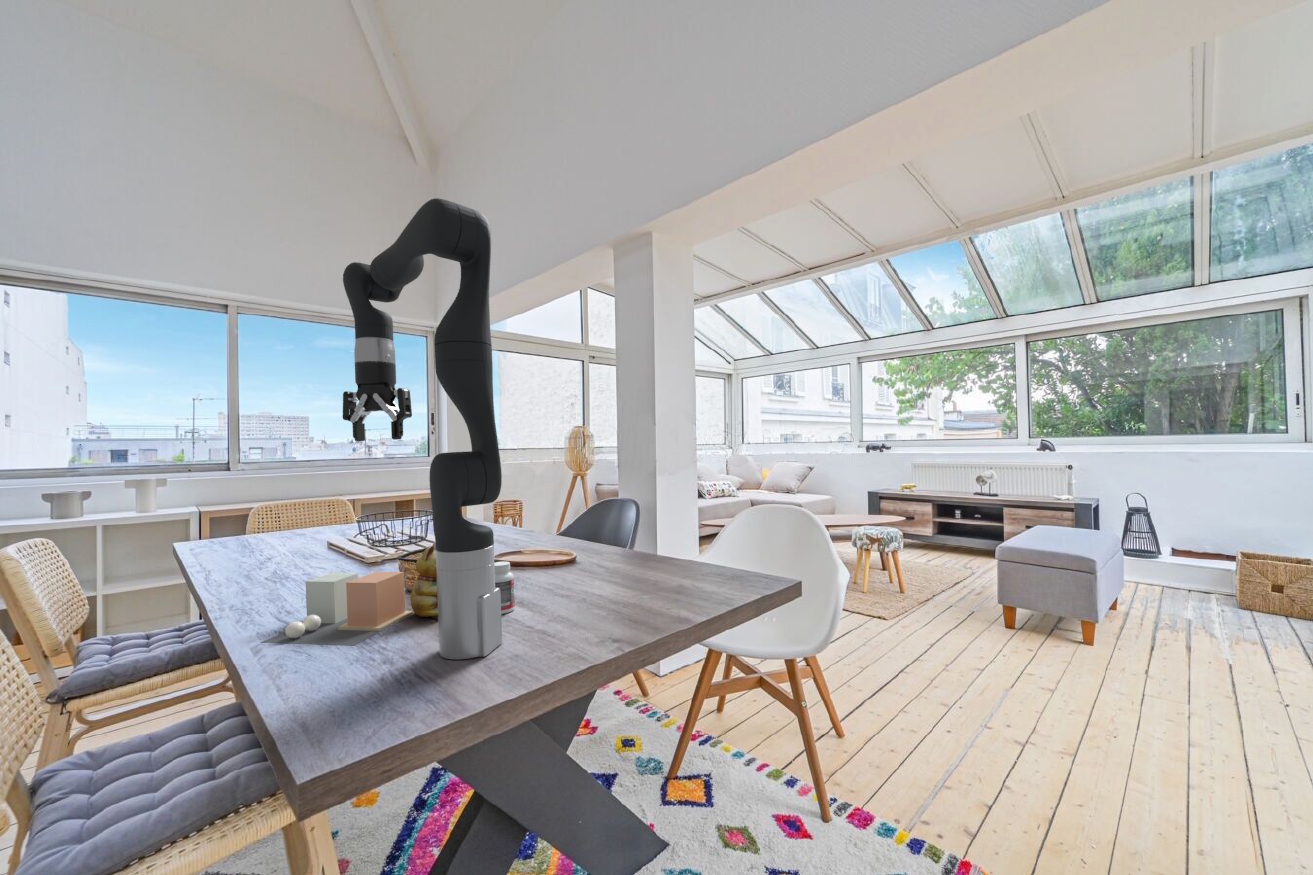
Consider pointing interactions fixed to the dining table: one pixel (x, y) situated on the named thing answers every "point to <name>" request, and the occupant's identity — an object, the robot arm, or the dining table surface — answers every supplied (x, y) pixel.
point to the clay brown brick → (375, 598)
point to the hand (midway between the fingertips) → (378, 440)
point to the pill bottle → (505, 586)
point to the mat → (338, 633)
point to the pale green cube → (328, 596)
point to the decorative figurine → (426, 585)
